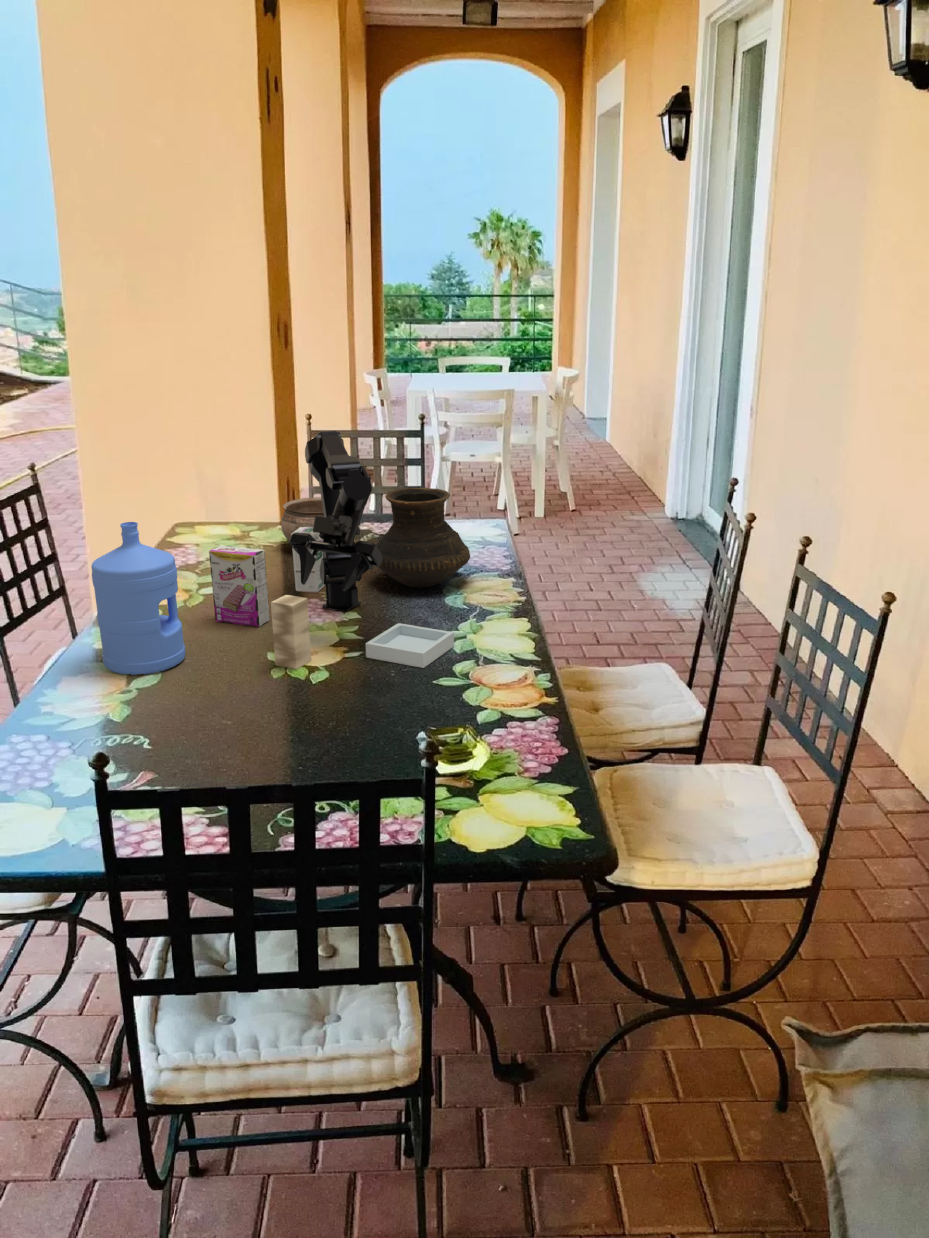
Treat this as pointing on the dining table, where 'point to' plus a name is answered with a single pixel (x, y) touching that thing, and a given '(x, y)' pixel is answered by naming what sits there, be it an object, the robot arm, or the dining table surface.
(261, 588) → the candy bar box
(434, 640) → the tray
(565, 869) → the dining table surface
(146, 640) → the water jug
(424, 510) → the ceramic pot
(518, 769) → the dining table surface
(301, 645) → the birch block
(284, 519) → the cooking pot
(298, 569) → the syrup box
